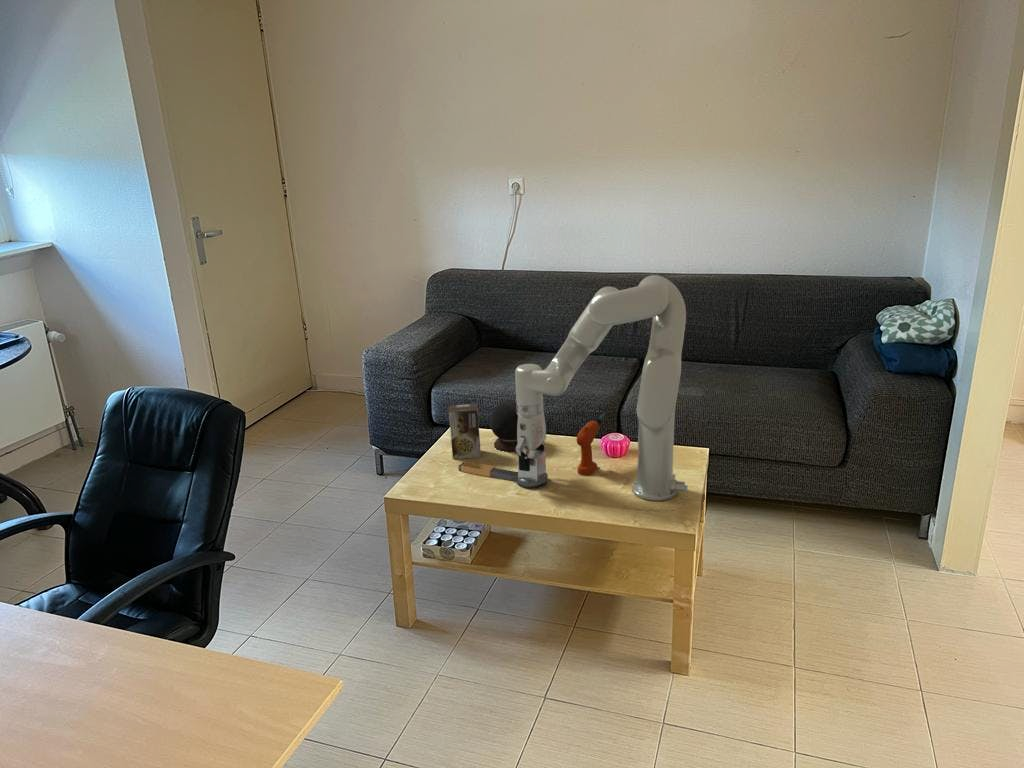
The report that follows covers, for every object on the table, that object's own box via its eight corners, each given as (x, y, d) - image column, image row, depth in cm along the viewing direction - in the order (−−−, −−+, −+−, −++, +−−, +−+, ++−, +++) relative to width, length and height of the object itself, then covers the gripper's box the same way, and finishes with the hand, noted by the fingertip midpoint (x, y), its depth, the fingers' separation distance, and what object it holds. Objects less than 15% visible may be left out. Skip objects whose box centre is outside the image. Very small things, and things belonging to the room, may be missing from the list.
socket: (545, 473, 212) (545, 451, 210) (537, 481, 207) (536, 459, 205) (527, 470, 215) (526, 448, 213) (518, 478, 210) (517, 456, 207)
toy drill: (613, 448, 228) (611, 406, 222) (589, 479, 214) (586, 434, 208) (599, 446, 231) (597, 403, 224) (574, 476, 216) (571, 432, 210)
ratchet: (552, 478, 213) (552, 459, 211) (539, 491, 206) (539, 471, 204) (468, 463, 226) (467, 445, 224) (453, 474, 218) (452, 456, 216)
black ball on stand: (524, 455, 230) (522, 410, 225) (485, 451, 234) (482, 407, 229) (536, 439, 242) (535, 397, 237) (499, 435, 246) (497, 394, 241)
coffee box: (480, 449, 236) (477, 402, 230) (480, 457, 229) (478, 409, 224) (452, 451, 235) (448, 404, 230) (451, 459, 229) (448, 411, 224)
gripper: (528, 420, 195) (530, 478, 201) (554, 399, 210) (555, 454, 215) (503, 416, 199) (506, 473, 204) (531, 396, 213) (532, 450, 219)
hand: (531, 463), depth 210 cm, fingers open, 9 cm apart
